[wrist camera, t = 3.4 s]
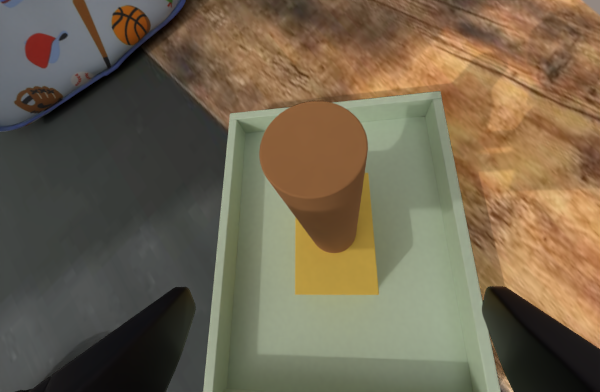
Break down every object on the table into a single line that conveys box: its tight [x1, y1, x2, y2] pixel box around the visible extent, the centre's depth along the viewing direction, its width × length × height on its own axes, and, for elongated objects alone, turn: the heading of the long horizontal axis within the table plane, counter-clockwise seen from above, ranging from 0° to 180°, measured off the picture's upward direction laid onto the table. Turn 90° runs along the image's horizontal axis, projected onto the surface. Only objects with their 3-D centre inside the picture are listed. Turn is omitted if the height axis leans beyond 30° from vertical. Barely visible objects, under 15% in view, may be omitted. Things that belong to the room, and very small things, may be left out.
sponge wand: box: [259, 101, 379, 295], centre depth 13 cm, size 7×4×13 cm, turn 0°
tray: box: [203, 91, 501, 392], centre depth 18 cm, size 19×15×3 cm
